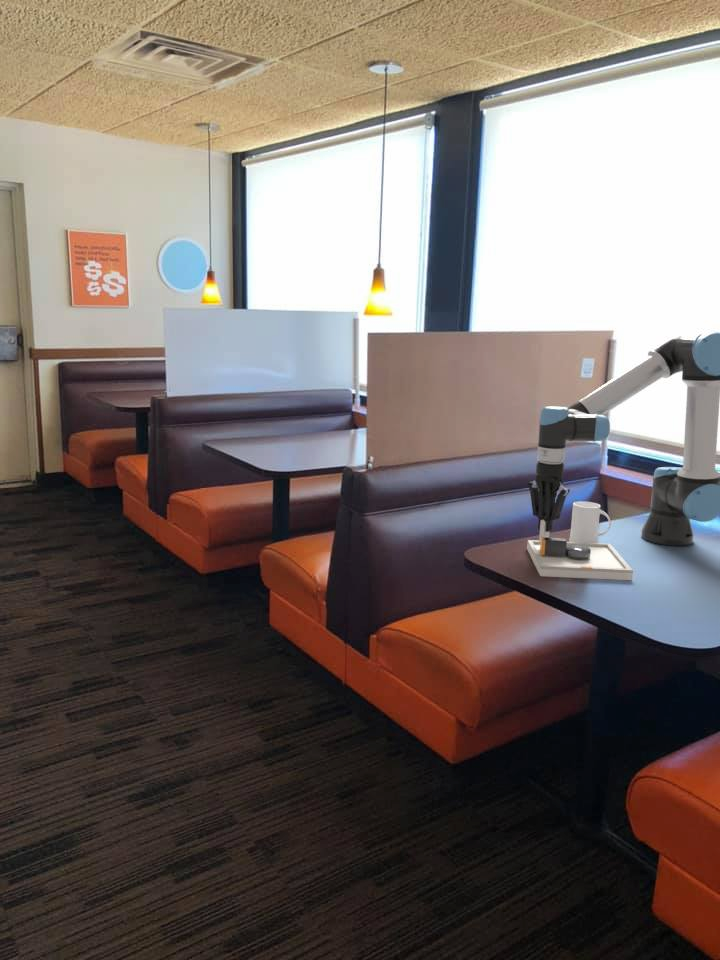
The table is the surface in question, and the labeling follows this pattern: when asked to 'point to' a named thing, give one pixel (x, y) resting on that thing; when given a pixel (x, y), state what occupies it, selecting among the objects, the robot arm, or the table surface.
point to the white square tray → (582, 563)
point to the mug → (586, 522)
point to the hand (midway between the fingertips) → (543, 541)
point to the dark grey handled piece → (563, 548)
